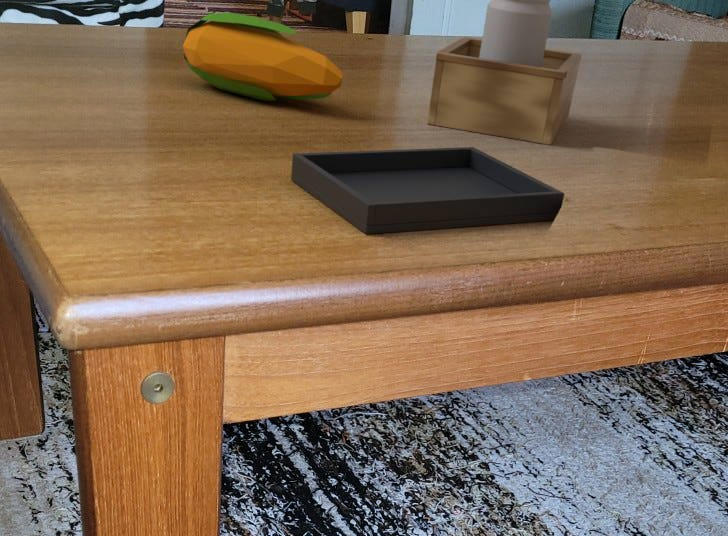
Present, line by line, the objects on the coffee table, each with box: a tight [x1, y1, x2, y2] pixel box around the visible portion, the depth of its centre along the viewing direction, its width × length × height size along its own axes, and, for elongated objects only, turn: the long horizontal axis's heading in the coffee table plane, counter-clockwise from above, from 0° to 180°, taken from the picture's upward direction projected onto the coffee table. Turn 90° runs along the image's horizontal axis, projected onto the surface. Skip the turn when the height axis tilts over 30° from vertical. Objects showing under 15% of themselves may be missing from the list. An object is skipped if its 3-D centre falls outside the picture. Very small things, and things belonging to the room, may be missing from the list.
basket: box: [426, 36, 583, 146], centre depth 102 cm, size 13×13×7 cm
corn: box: [182, 12, 344, 102], centre depth 101 cm, size 7×8×20 cm
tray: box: [290, 146, 565, 235], centre depth 78 cm, size 17×13×2 cm
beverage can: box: [479, 0, 553, 67], centre depth 100 cm, size 6×6×12 cm
